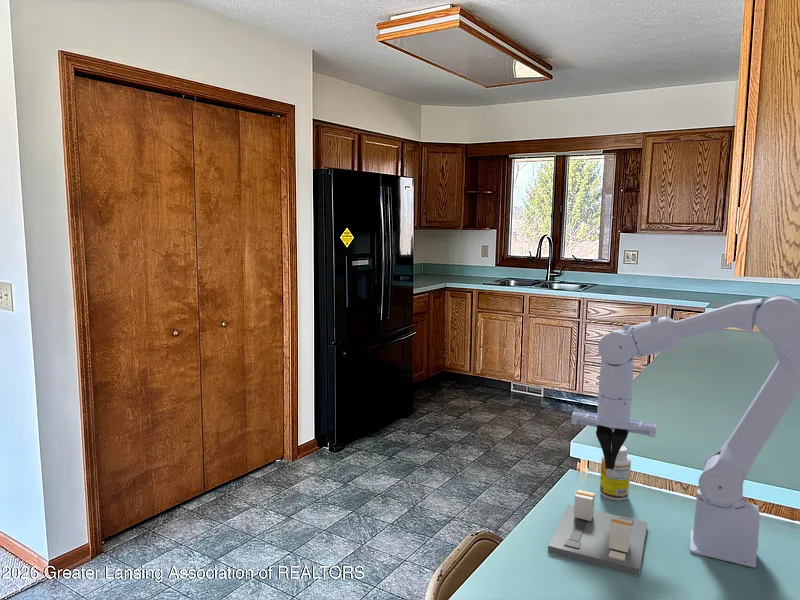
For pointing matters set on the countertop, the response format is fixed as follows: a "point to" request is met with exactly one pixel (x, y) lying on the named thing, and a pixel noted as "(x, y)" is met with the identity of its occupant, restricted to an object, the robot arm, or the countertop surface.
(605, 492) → the supplement bottle
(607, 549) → the switch unit
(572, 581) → the countertop surface
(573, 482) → the countertop surface
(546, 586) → the countertop surface
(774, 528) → the countertop surface
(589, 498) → the toggle
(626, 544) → the toggle
